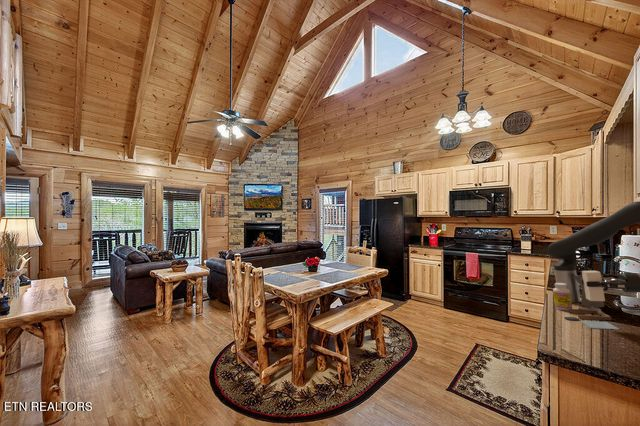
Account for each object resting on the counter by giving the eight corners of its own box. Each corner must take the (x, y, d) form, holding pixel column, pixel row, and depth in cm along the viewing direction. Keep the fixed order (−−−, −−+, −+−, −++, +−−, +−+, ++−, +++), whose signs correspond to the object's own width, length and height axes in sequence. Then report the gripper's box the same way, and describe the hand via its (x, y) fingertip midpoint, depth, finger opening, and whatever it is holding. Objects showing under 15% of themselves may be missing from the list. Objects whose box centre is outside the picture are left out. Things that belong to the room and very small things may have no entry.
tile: (580, 321, 122) (580, 320, 122) (607, 322, 118) (607, 321, 118) (590, 328, 114) (589, 327, 114) (619, 329, 110) (619, 328, 110)
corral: (569, 312, 135) (569, 308, 135) (598, 313, 131) (598, 309, 131) (579, 318, 125) (578, 315, 125) (611, 320, 121) (611, 316, 121)
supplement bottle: (557, 310, 139) (553, 284, 140) (553, 306, 145) (550, 282, 146) (574, 311, 136) (570, 285, 137) (570, 307, 142) (566, 282, 143)
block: (586, 298, 120) (581, 270, 121) (599, 298, 118) (595, 270, 119) (591, 300, 116) (586, 272, 117) (605, 301, 114) (600, 272, 115)
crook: (579, 311, 135) (579, 308, 135) (574, 308, 140) (574, 305, 140) (601, 312, 132) (600, 309, 132) (595, 309, 137) (595, 306, 137)
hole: (562, 317, 129) (562, 316, 129) (576, 317, 127) (576, 317, 127) (567, 320, 124) (567, 319, 124) (581, 321, 122) (581, 320, 122)
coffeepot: (581, 307, 141) (576, 272, 143) (572, 302, 150) (567, 269, 151) (620, 307, 136) (614, 271, 137) (608, 303, 145) (603, 268, 146)
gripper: (626, 271, 119) (575, 271, 126) (648, 276, 106) (590, 277, 113) (629, 288, 118) (578, 288, 125) (652, 296, 105) (593, 295, 112)
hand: (584, 283), depth 119 cm, fingers closed on block, 4 cm apart
